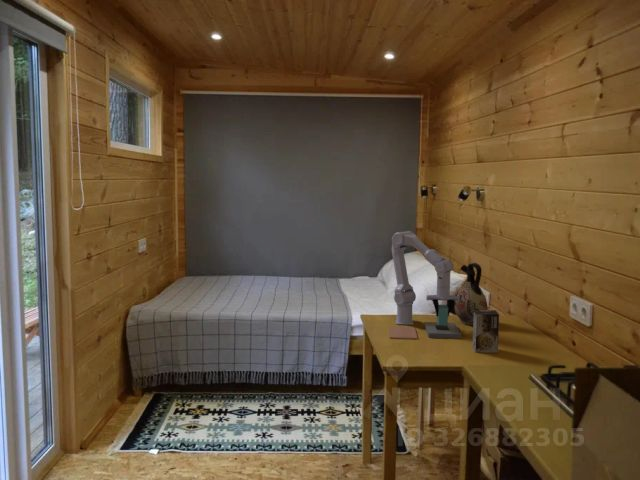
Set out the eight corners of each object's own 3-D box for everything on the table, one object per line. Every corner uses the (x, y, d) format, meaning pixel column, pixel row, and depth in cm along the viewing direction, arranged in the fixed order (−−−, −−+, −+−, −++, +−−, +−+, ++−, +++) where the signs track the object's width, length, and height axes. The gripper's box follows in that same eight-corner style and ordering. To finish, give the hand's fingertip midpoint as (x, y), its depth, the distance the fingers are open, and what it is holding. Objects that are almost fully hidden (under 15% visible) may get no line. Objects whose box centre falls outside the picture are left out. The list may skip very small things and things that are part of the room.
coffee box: (494, 348, 219) (496, 309, 217) (498, 353, 213) (499, 314, 211) (471, 347, 220) (473, 309, 218) (474, 352, 214) (476, 313, 212)
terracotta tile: (388, 328, 248) (388, 326, 247) (414, 328, 246) (414, 327, 246) (389, 338, 232) (389, 337, 232) (417, 339, 231) (417, 337, 231)
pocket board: (424, 326, 251) (424, 321, 251) (454, 326, 250) (454, 322, 249) (428, 337, 233) (428, 333, 233) (461, 338, 232) (461, 334, 232)
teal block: (436, 321, 244) (437, 304, 243) (445, 321, 244) (446, 304, 243) (438, 325, 238) (439, 307, 237) (447, 325, 238) (448, 308, 237)
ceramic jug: (447, 320, 260) (449, 260, 256) (472, 317, 267) (474, 258, 263) (470, 329, 245) (473, 265, 241) (496, 326, 251) (499, 263, 248)
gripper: (427, 288, 235) (427, 317, 237) (461, 288, 234) (460, 318, 236) (426, 284, 242) (425, 313, 244) (458, 285, 241) (457, 314, 243)
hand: (442, 316), depth 240 cm, fingers closed on teal block, 4 cm apart
